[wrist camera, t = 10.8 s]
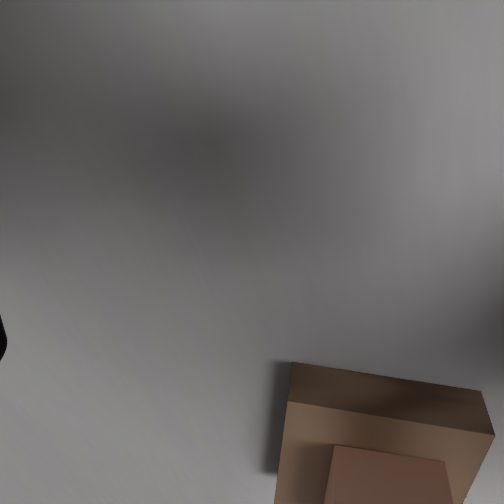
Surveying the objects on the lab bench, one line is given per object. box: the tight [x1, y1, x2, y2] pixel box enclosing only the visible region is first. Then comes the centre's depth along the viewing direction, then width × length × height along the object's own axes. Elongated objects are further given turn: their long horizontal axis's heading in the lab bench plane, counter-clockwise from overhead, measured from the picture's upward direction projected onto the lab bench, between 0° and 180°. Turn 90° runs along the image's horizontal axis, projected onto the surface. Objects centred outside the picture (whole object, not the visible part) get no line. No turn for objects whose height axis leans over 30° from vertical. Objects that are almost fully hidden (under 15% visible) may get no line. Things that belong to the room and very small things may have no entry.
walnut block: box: [274, 362, 495, 504], centre depth 25 cm, size 9×9×3 cm
